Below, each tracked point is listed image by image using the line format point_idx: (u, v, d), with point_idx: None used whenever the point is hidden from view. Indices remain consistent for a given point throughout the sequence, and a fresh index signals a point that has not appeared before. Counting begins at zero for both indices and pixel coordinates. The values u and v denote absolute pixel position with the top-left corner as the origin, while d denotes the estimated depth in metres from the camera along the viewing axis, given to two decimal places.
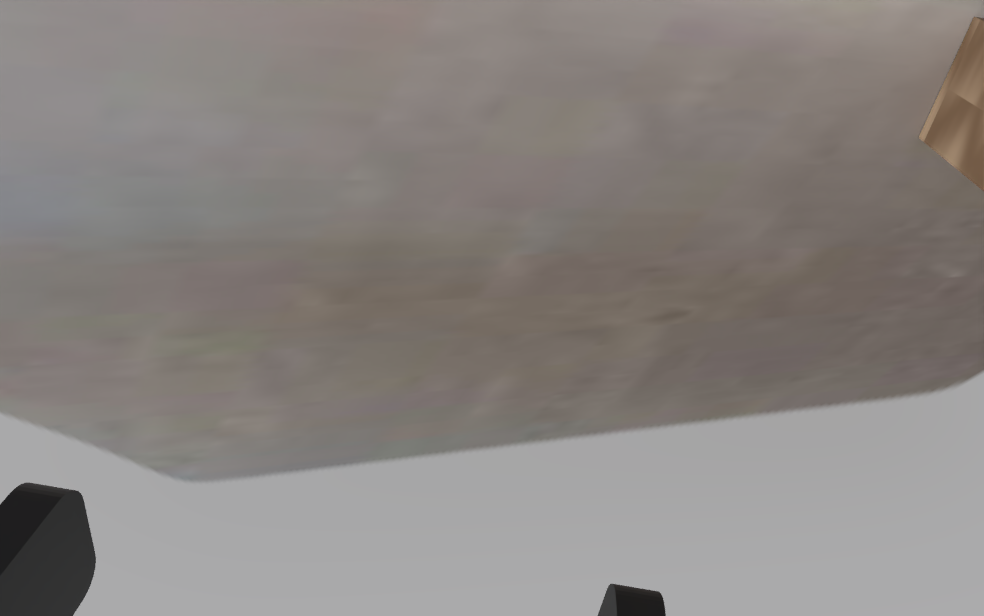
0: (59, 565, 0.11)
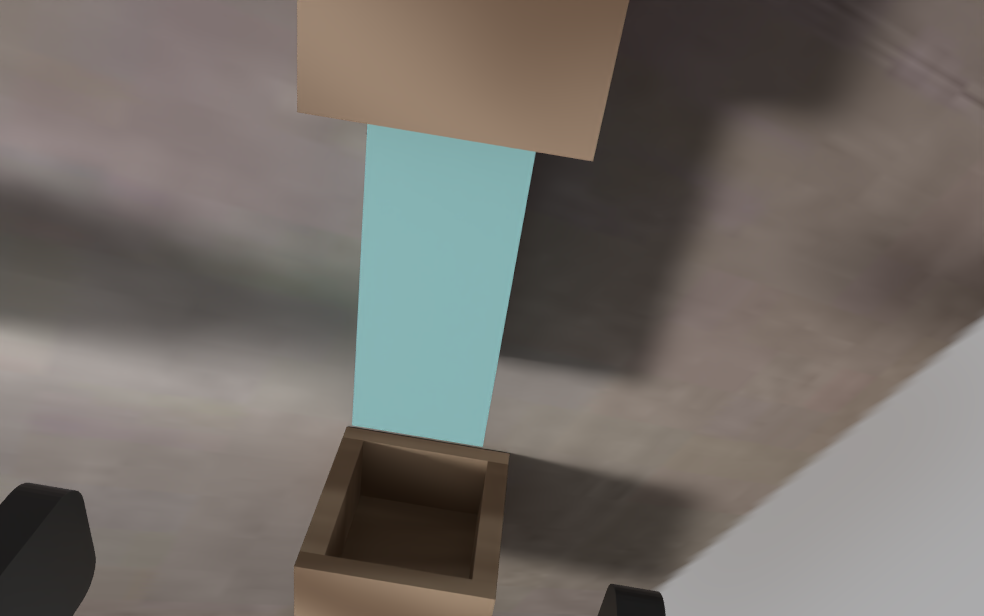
0: (59, 565, 0.11)
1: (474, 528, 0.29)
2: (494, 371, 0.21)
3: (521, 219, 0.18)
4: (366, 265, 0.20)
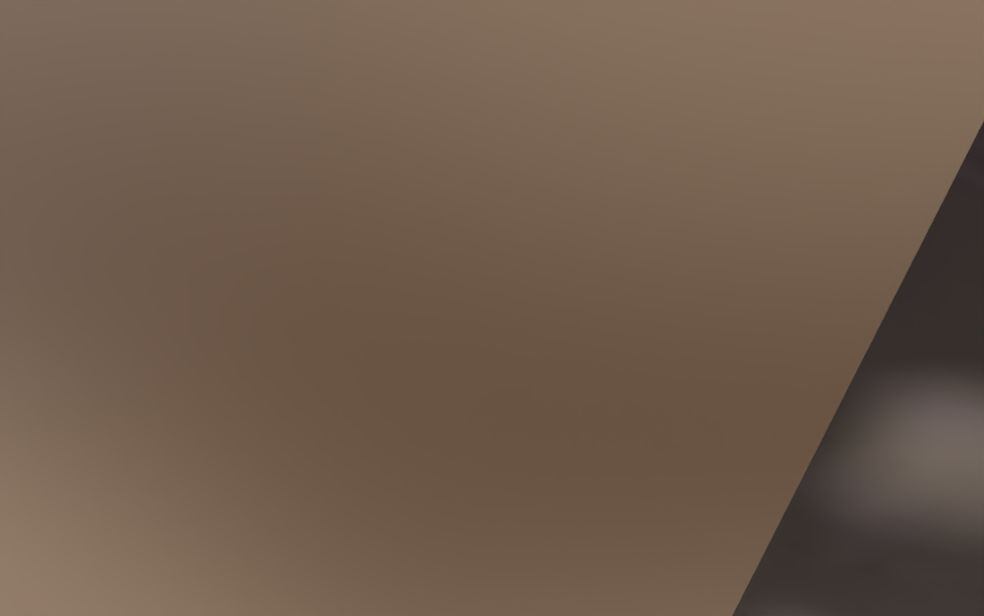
0: None
1: None
2: None
3: None
4: None
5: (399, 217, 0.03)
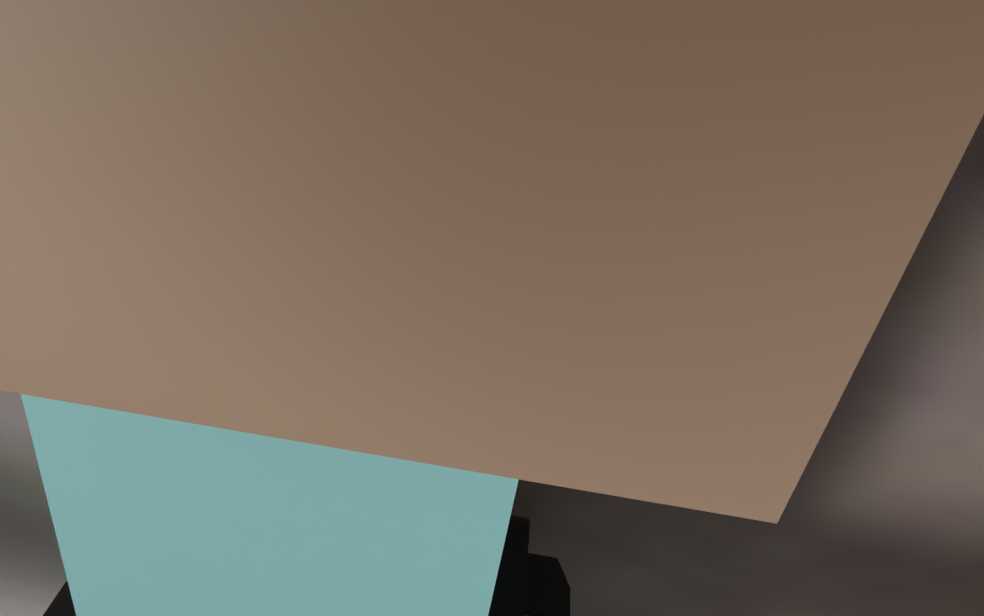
0: None
1: None
2: None
3: None
4: None
5: None
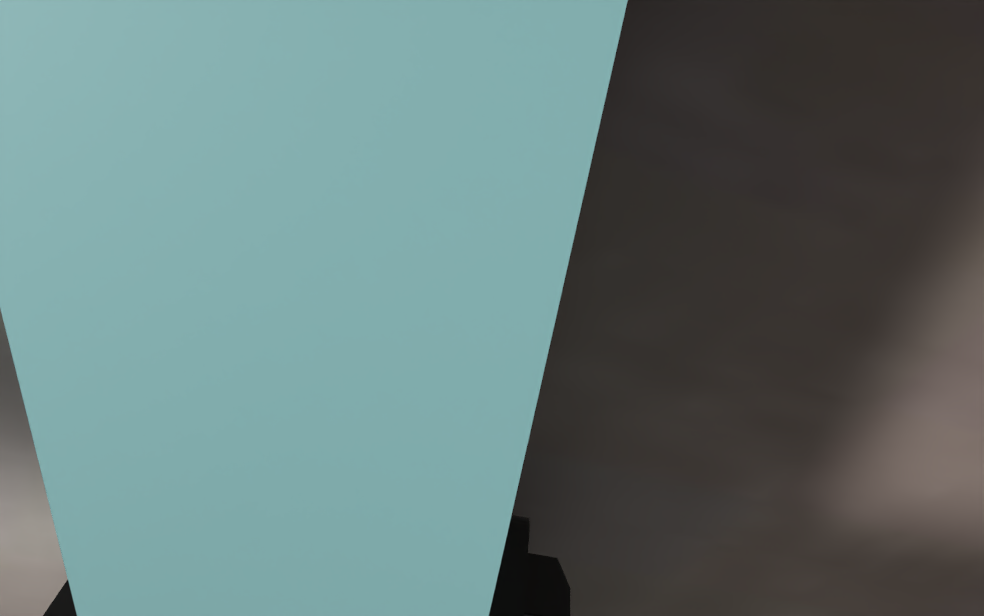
0: None
1: None
2: None
3: None
4: None
5: None
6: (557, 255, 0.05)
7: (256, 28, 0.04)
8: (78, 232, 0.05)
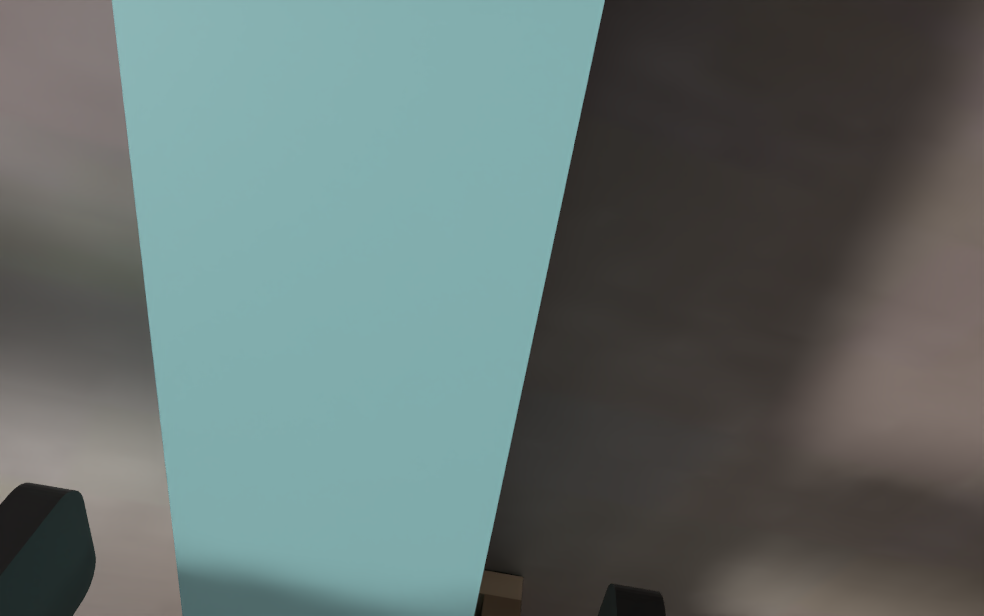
0: (60, 565, 0.11)
1: None
2: None
3: (474, 596, 0.10)
4: None
5: None
6: (557, 177, 0.07)
7: (346, 9, 0.06)
8: (203, 161, 0.07)
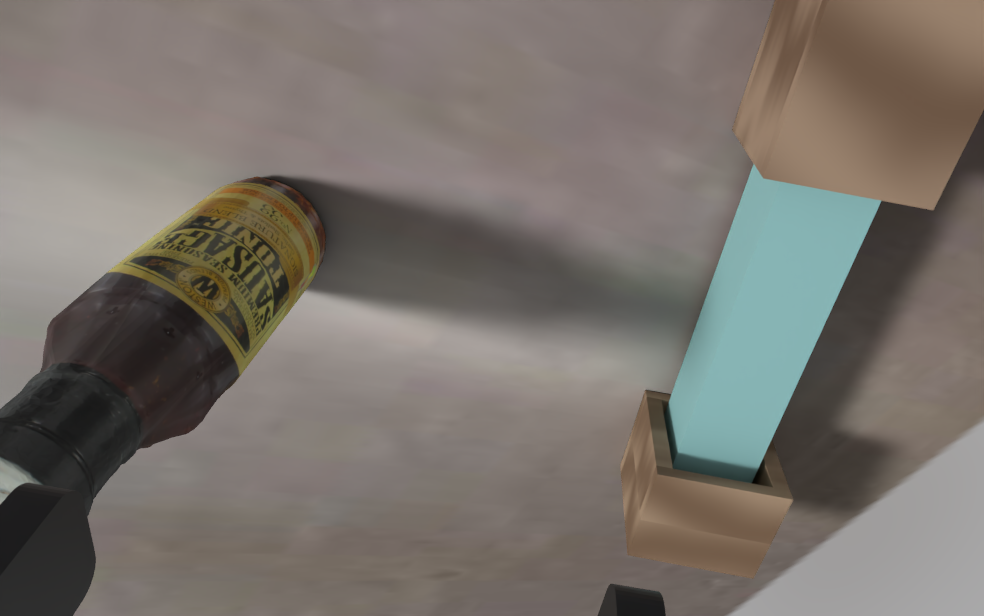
0: (59, 565, 0.11)
1: None
2: (761, 459, 0.36)
3: (797, 380, 0.33)
4: (700, 400, 0.35)
5: (931, 83, 0.25)
6: (848, 267, 0.31)
7: (812, 235, 0.30)
8: (767, 262, 0.31)
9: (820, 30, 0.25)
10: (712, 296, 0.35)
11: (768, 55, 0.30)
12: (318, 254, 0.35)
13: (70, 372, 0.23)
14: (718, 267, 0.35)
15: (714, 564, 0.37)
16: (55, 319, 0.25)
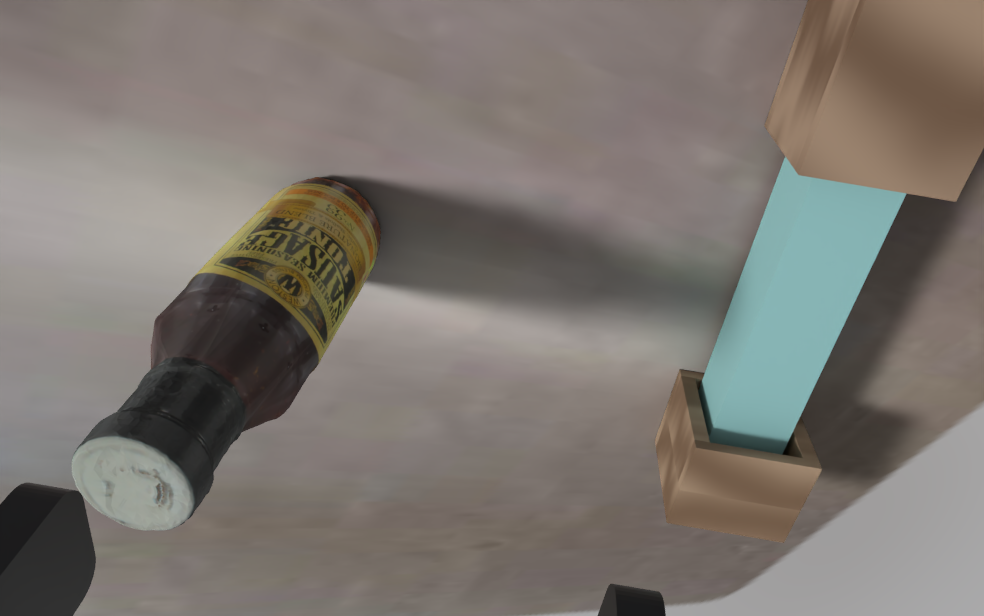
0: (59, 565, 0.11)
1: None
2: (791, 432, 0.39)
3: (826, 359, 0.36)
4: (735, 379, 0.37)
5: (955, 86, 0.28)
6: (875, 254, 0.33)
7: (841, 224, 0.32)
8: (800, 251, 0.33)
9: (853, 40, 0.27)
10: (745, 281, 0.38)
11: (800, 58, 0.32)
12: (376, 249, 0.38)
13: (185, 366, 0.25)
14: (750, 254, 0.38)
15: (747, 530, 0.40)
16: (160, 317, 0.28)
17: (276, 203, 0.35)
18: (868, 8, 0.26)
